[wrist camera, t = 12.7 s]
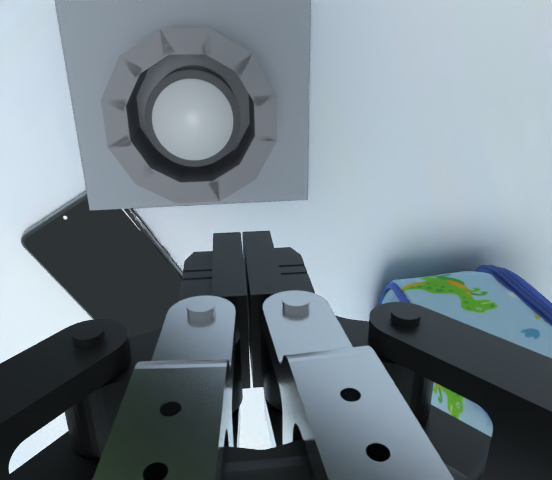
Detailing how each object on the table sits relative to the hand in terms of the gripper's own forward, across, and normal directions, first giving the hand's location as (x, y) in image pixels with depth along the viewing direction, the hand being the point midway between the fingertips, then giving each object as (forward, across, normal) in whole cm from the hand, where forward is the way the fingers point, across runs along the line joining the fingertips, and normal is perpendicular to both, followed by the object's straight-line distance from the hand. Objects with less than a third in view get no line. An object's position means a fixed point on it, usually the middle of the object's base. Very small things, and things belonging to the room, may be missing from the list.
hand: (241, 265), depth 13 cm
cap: (+19, +2, -2) cm, 19 cm away
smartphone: (+21, +7, +12) cm, 25 cm away
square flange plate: (+20, +2, -2) cm, 20 cm away
